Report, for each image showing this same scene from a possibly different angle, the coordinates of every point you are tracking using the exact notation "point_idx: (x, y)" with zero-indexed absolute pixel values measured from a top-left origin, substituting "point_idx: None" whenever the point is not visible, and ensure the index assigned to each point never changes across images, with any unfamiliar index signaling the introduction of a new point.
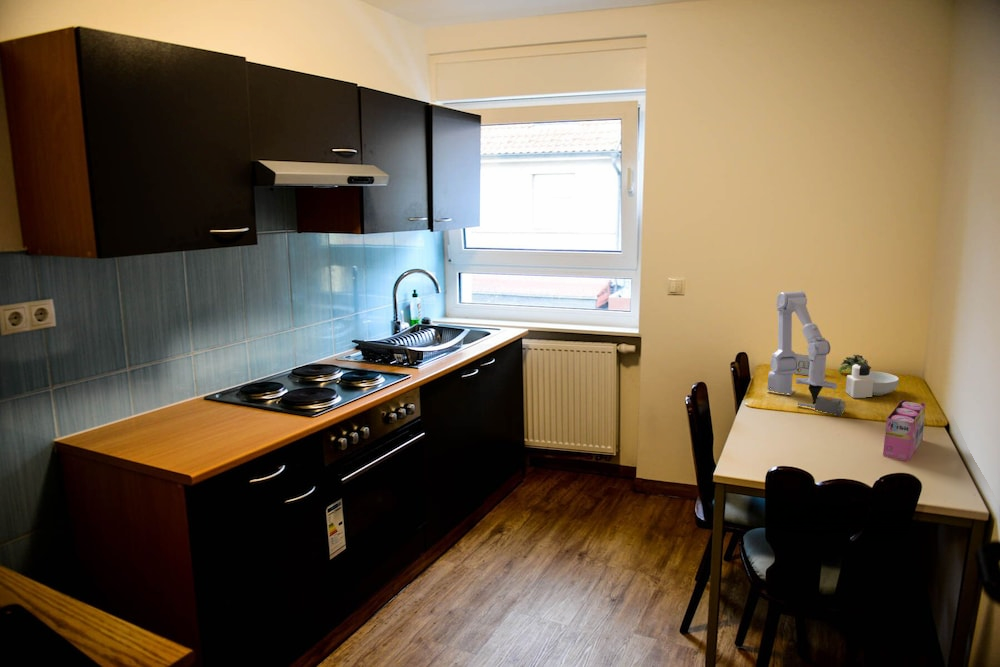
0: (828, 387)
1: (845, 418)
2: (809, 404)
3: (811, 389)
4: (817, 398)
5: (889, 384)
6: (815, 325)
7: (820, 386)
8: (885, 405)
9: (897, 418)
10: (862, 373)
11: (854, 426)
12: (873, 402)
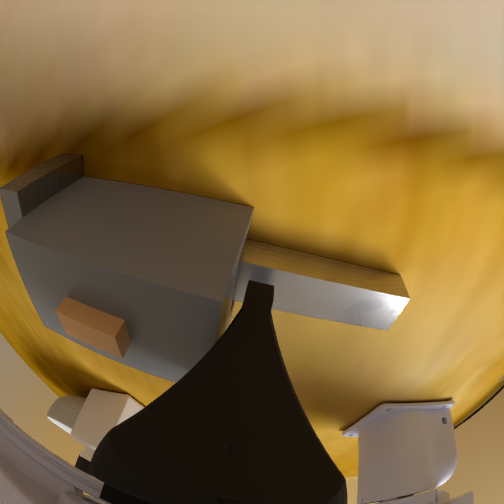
0: (29, 442)
1: (37, 129)
2: (305, 303)
3: (290, 487)
4: (204, 331)
5: (49, 411)
6: None
7: (115, 502)
8: (40, 340)
9: None
10: (84, 466)
11: (8, 25)
12: (71, 362)
